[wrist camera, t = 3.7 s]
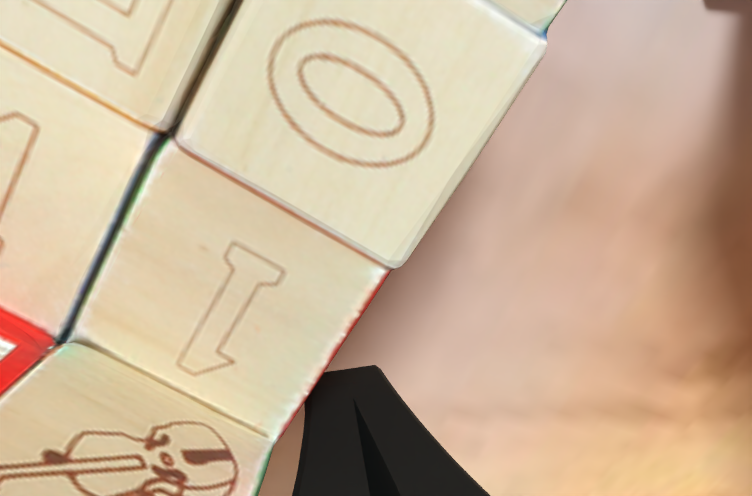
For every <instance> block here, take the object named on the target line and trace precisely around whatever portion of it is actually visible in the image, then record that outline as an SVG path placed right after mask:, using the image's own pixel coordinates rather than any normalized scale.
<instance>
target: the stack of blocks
mask: <svg viewBox="0 0 752 496" xmlns="http://www.w3.org/2000/svg"><path fill="white" fill-rule="evenodd" d="M566 1H567V0H0V496H258V493H259V490H260V488H261V485H262V482H263V479H264V476H265V473H266V470H267V466H268V463H269V460H270V456H271V453H272V450H273V446H274V444H275V443H276V442H277V441H278V440H279V438H280V437H281V436H282V435H283V434H284V432H285V431H286V429H287V427H288V426H289V424H290V423H291V421H292V420H293V418H294V417H295V415H296V414H297V412H298V411H299V409H300V408H301V406H302V405H303V403H304V402H305V400H306V399H307V397H308V396H309V394H310V393H311V391H312V390H313V388H314V387H315V385H316V384H317V382H318V381H319V379H320V377H321V376H322V374H323V373H324V371H325V370H326V368H327V367H328V365H329V364H330V362H331V361H332V359H333V358H334V356H335V355H336V353H337V352H338V350H339V349H340V347H341V346H342V344H343V343H344V341H345V340H346V338H347V337H348V335H349V334H350V332H351V331H352V329H353V328H354V326H355V325H356V323H357V322H358V320H359V319H360V317H361V316H362V314H363V313H364V311H365V310H366V308H367V307H368V305H369V304H370V302H371V301H372V299H373V298H374V296H375V295H376V293H377V292H378V290H379V289H380V287H381V285H382V284H383V282H384V281H385V279H386V278H387V276H388V275H389V273H390V271H391V270H394V269H396V268H399V267H401V266H402V265H404V264H405V263H406V261H407V260H408V258H409V257H410V255H411V254H412V253H413V251H414V250H415V248H416V247H417V245H418V244H419V242H420V241H421V240H422V238H423V237H424V235H425V234H426V232H427V231H428V229H429V228H430V226H431V225H432V224H433V222H434V221H435V219H436V218H437V216H438V215H439V213H440V212H441V210H442V209H443V208H444V206H445V205H446V203H447V202H448V200H449V199H450V197H451V196H452V195H453V193H454V192H455V190H456V189H457V187H458V186H459V184H460V183H461V181H462V180H463V179H464V177H465V176H466V174H467V173H468V171H469V170H470V168H471V167H472V165H473V164H474V162H475V160H476V159H477V157H478V156H479V154H480V153H481V151H482V150H483V148H484V147H485V145H486V144H487V142H488V141H489V139H490V138H491V136H492V134H493V133H494V131H495V130H496V128H497V127H498V125H499V124H500V122H501V121H502V119H503V118H504V116H505V115H506V113H507V112H508V110H509V109H510V107H511V105H512V104H513V102H514V101H515V99H516V98H517V96H518V95H519V93H520V92H521V90H522V89H523V87H524V86H525V84H526V83H527V81H528V80H529V78H530V76H531V75H532V73H533V72H534V70H535V69H536V67H537V66H538V64H539V63H540V61H541V60H542V58H543V57H544V55H545V54H546V48H547V35H546V34H547V31H548V27H549V26H550V24H551V23H552V21H553V20H554V18H555V17H556V16H557V14H558V13H559V11H560V10H561V8H562V7H563V6H564V4H565V3H566Z"/></svg>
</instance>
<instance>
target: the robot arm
mask: <svg viewBox="0 0 752 496" xmlns="http://www.w3.org/2000/svg"><path fill="white" fill-rule="evenodd" d="M304 405H305V421H304V433H303V440H302V447H301V453H300V460H299V466H298V472H297V477H296V481H295V486H294V490H293V494H292V496H490V495H489V494H488V493H487V492H486V491H485V490H484V489H483V488H482V487H481V486H480V485H479V484H478V483H477V482H476V481H475V480H474V479H473V478H472V477H471V476H470V475H469V474H468V473H467V472H466V471H465V470H464V469H463V468H462V467H461V466H460V465H459V464H458V463H457V462H456V461H455V460H454V459H453V458H452V457H451V456H450V455H449V454H448V453H447V451H446V450H445V449H444V448H443V447H442V446H441V445H440V444H439V442H438V441H437V440H436V439H435V438H434V437H433V436H432V435H431V433H430V432H429V431H428V430H427V429H426V428H425V427H424V425H423V424H422V423H421V422H420V421H419V419H418V418H417V417H416V416H415V415H414V413H413V412H412V411H411V410H410V408H409V407H408V406H407V405H406V403H405V402H404V401H403V400H402V398H401V397H400V396H399V394H398V393H397V392H396V390H395V389H394V388H393V386H392V385H391V383H390V382H389V381H388V379H387V378H386V376H385V375H384V373H383V372H382V370H381V369H380V368H378V367H377V366H376V365H372V366H365V367H358V368H351V369H344V370H337V371H330V372H324V373H323V374H322V376H321V377H320V379H319V381H318V382H317V384H316V385H315V387H314V388H313V390H312V391H311V393H310V394H309V396H308V397H307V399H306V400H305V402H304Z"/></svg>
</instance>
